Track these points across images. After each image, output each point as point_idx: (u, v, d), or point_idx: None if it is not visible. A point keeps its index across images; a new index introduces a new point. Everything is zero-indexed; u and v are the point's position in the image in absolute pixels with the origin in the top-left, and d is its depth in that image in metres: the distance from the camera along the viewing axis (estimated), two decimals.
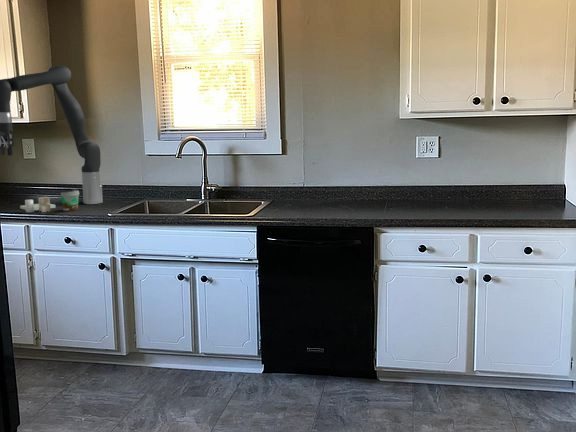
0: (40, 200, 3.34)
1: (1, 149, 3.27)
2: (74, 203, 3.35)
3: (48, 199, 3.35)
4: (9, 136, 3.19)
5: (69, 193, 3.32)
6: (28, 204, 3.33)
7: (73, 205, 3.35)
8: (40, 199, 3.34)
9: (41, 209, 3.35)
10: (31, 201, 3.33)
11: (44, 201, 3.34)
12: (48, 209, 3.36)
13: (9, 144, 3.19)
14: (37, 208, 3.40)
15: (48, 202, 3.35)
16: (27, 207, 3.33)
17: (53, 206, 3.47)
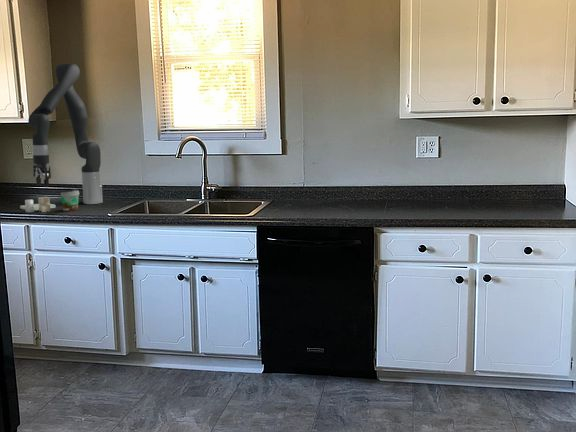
0: (40, 200, 3.34)
1: (37, 180, 3.36)
2: (74, 203, 3.35)
3: (48, 199, 3.35)
4: (46, 168, 3.28)
5: (69, 193, 3.32)
6: (28, 204, 3.33)
7: (73, 205, 3.35)
8: (40, 199, 3.34)
9: (41, 209, 3.35)
10: (31, 201, 3.33)
11: (44, 201, 3.34)
12: (48, 209, 3.36)
13: (46, 176, 3.28)
14: (37, 208, 3.40)
15: (48, 202, 3.35)
16: (27, 207, 3.33)
17: (53, 206, 3.47)
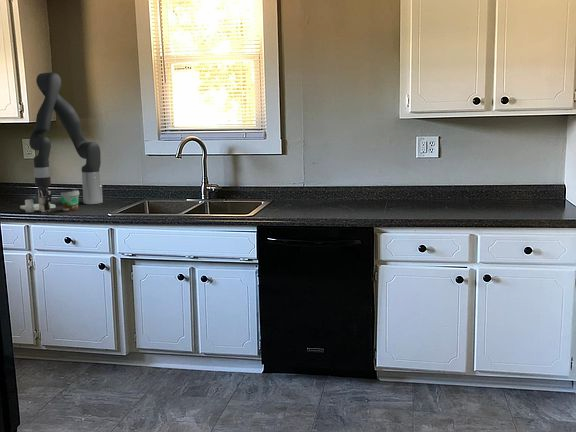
0: (40, 200, 3.34)
1: None
2: (74, 203, 3.35)
3: None
4: (48, 193, 3.30)
5: (69, 193, 3.32)
6: (28, 204, 3.33)
7: (73, 205, 3.35)
8: (40, 199, 3.34)
9: (41, 209, 3.35)
10: (31, 201, 3.33)
11: None
12: None
13: (46, 200, 3.31)
14: (37, 208, 3.40)
15: None
16: (27, 207, 3.33)
17: (53, 206, 3.47)
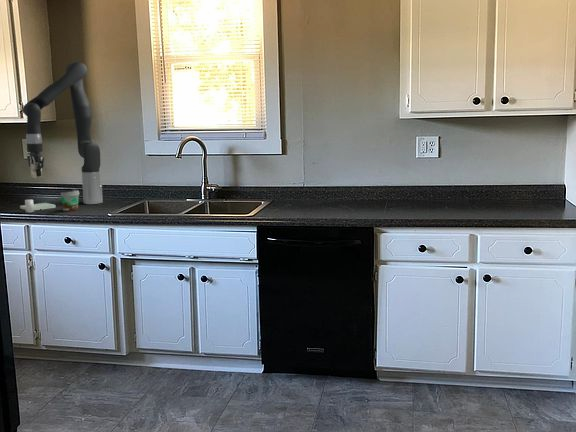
0: (32, 166, 3.39)
1: None
2: (74, 203, 3.35)
3: None
4: (40, 159, 3.36)
5: (69, 193, 3.32)
6: (28, 204, 3.33)
7: (73, 205, 3.35)
8: (32, 165, 3.39)
9: (33, 175, 3.40)
10: (31, 201, 3.33)
11: None
12: None
13: (38, 166, 3.37)
14: (37, 208, 3.40)
15: None
16: (27, 207, 3.33)
17: (53, 206, 3.47)
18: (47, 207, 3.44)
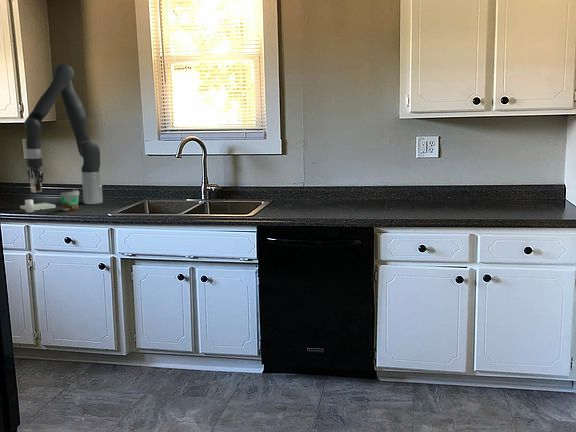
0: (32, 181, 3.42)
1: None
2: (74, 203, 3.35)
3: None
4: (39, 174, 3.38)
5: (69, 193, 3.32)
6: (28, 204, 3.33)
7: (73, 205, 3.35)
8: (32, 180, 3.42)
9: (33, 189, 3.43)
10: (31, 201, 3.33)
11: None
12: None
13: (38, 180, 3.40)
14: (37, 208, 3.40)
15: (40, 183, 3.43)
16: (27, 207, 3.33)
17: (53, 206, 3.47)
18: (47, 207, 3.44)
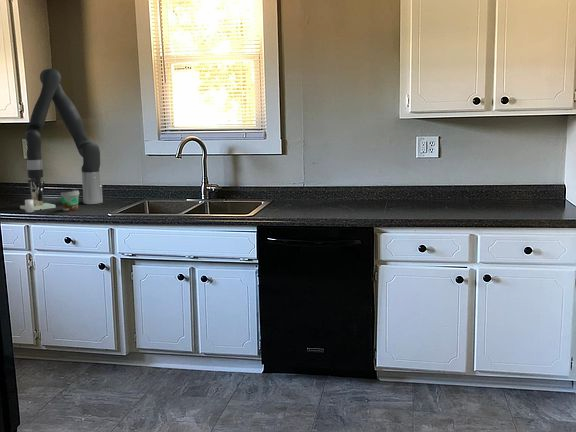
0: (33, 194, 3.44)
1: None
2: (74, 203, 3.35)
3: None
4: (40, 184, 3.39)
5: (69, 193, 3.32)
6: (28, 204, 3.33)
7: (73, 205, 3.35)
8: (33, 193, 3.43)
9: (34, 203, 3.44)
10: (31, 201, 3.33)
11: (37, 195, 3.43)
12: (41, 203, 3.45)
13: (40, 191, 3.40)
14: (37, 208, 3.40)
15: None
16: (27, 207, 3.33)
17: (53, 206, 3.47)
18: (47, 207, 3.44)
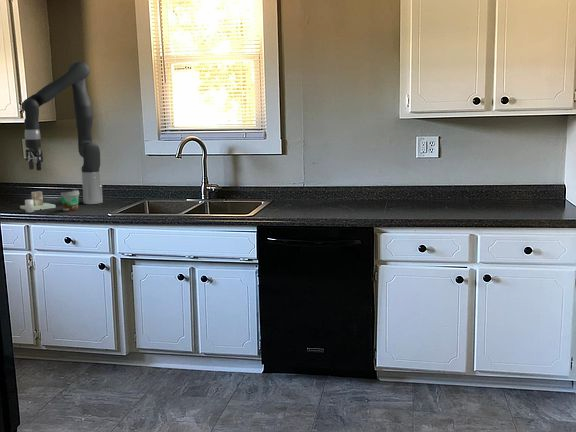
0: (33, 194, 3.44)
1: (30, 164, 3.45)
2: (74, 203, 3.35)
3: (41, 193, 3.45)
4: (38, 152, 3.36)
5: (69, 193, 3.32)
6: (28, 204, 3.33)
7: (73, 205, 3.35)
8: (33, 193, 3.43)
9: (34, 203, 3.44)
10: (31, 201, 3.33)
11: (37, 195, 3.43)
12: (41, 203, 3.45)
13: (38, 160, 3.37)
14: (37, 208, 3.40)
15: (41, 196, 3.45)
16: (27, 207, 3.33)
17: (53, 206, 3.47)
18: (47, 207, 3.44)
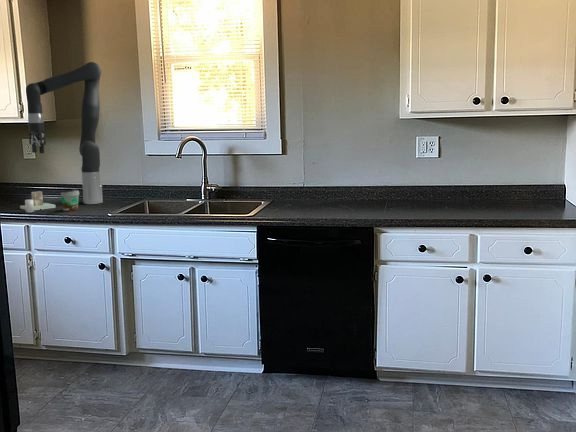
0: (33, 194, 3.44)
1: (33, 147, 3.53)
2: (74, 203, 3.35)
3: (41, 193, 3.45)
4: (41, 135, 3.45)
5: (69, 193, 3.32)
6: (28, 204, 3.33)
7: (73, 205, 3.35)
8: (33, 193, 3.43)
9: (34, 203, 3.44)
10: (31, 201, 3.33)
11: (37, 195, 3.43)
12: (41, 203, 3.45)
13: (41, 143, 3.45)
14: (37, 208, 3.40)
15: (41, 196, 3.45)
16: (27, 207, 3.33)
17: (53, 206, 3.47)
18: (47, 207, 3.44)
